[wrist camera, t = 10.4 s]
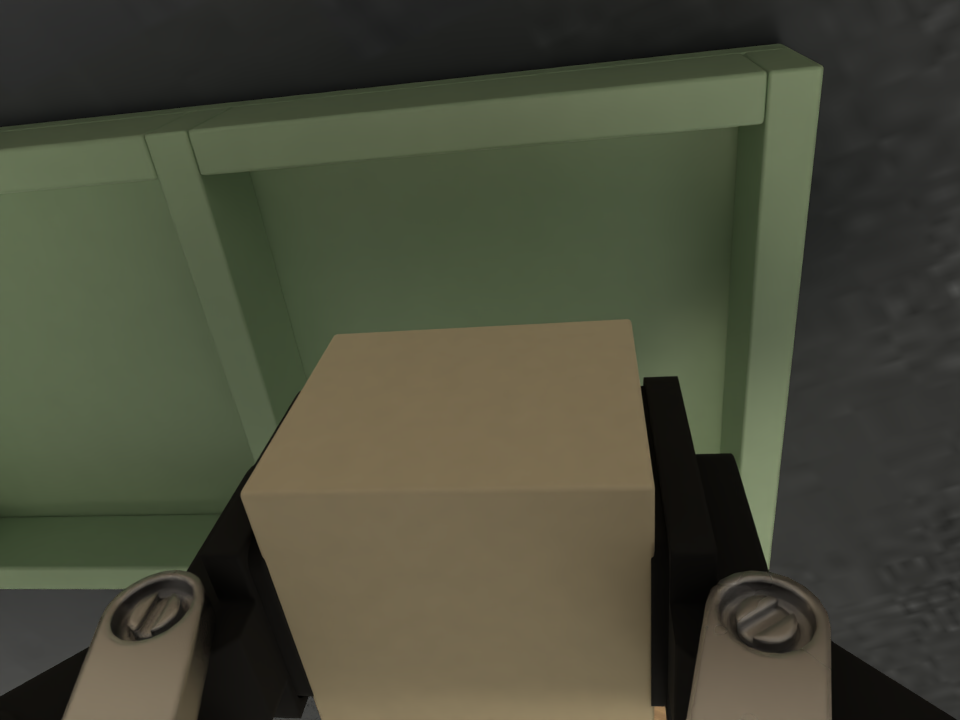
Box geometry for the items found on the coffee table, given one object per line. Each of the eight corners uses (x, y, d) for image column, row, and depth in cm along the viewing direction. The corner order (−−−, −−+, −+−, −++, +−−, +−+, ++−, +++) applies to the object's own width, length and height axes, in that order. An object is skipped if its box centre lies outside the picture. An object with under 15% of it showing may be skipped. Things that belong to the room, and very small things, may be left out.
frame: (-2, 523, 22) (-67, 590, 20) (-220, 150, 16) (-346, 184, 14) (744, 512, 19) (767, 591, 16) (782, 42, 13) (825, 64, 11)
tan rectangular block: (386, 547, 14) (326, 740, 11) (334, 332, 12) (236, 493, 9) (634, 546, 14) (654, 753, 10) (631, 317, 11) (655, 486, 8)
